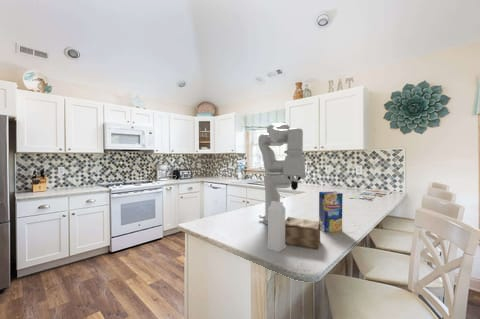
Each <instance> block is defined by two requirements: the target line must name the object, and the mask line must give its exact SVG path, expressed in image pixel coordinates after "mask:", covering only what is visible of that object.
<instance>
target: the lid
mask: <svg viewBox="0 0 480 319" xmlns="http://www.w3.org/2000/svg"><path fill="white" fill-rule="evenodd" d="M319 224H320V222H319V221H317V220H311V219H305V218H299V217H290V216H288V217H287V218H285V225H288V226H293V227H299V228H305V229H311V230H317V231H318V227H319Z"/></svg>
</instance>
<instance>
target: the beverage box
mask: <svg viewBox="0 0 480 319" xmlns="http://www.w3.org/2000/svg"><path fill="white" fill-rule="evenodd" d="M318 222H320V231H322V232H324V233H330V232H331V233H332V232H343V192H339V191H319V192H318Z"/></svg>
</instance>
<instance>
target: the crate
mask: <svg viewBox="0 0 480 319" xmlns="http://www.w3.org/2000/svg"><path fill="white" fill-rule="evenodd" d="M320 243H321V229H320V224H319V227H318V231H317V230H311V229H305V228H299V227H293V226H288V225H285V246H291V247H296V248H302V249H309V250H314V251H318V250H319V247H320Z"/></svg>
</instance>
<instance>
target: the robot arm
mask: <svg viewBox="0 0 480 319" xmlns="http://www.w3.org/2000/svg"><path fill="white" fill-rule="evenodd" d="M266 132H267V133H262V134H260V135H259V136H258V142H257V143H258V148H259V150H260V152H261V155H262V162H263V166H264V167H263V168H264V170H265V172H266V173H268V174H266V175H265V176H264V177H263V183H264V190H265V191H264V192H265V194H264V195H265V200H264V202H265V203H264V206H265V211H264V214H258V215H259V216H258V217H259V219H262V223H263V224H265V225H268V208H269V207H270V205H271V201H277V202H281V194H280V192H279V191H278V190H277V189H290V188H291V189H292V191H295V190H297V189H298V187H299V185H298V183H299V181H300V180H303V179H305V178H306V160H305V156H304V155H303V154H304V153H303V151H304V150H303V148H304V146H303V145H304V141H303V140H304V138H303V137H304V133H303V129H302V128H299V127H298V128H297V127H294V128H293V127H292V128H291V127H290V125H288V124H287V123H271V124H269V125H268V126H267V129H266ZM284 144H285V145H287V147H286V148H287V149H286V150H284V152H283V153H284V154H285V157H284V159H283V158H276V153H275V151H274V150H273V149H272V148H271V147H282V146H284ZM294 177H295V179H294Z"/></svg>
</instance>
